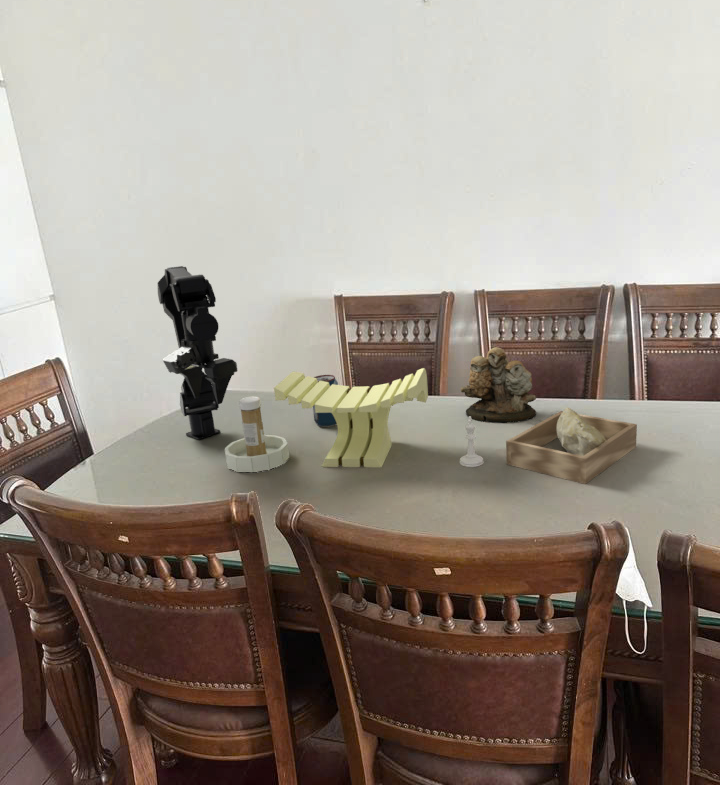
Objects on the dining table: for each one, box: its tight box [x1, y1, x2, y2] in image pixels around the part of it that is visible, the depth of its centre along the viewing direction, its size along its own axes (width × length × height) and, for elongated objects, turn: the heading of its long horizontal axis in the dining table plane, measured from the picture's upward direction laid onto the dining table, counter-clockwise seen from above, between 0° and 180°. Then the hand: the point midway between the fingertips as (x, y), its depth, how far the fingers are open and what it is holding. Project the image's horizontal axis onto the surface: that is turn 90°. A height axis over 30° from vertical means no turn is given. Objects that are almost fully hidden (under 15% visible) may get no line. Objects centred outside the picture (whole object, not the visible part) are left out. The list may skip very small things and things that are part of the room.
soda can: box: [312, 374, 339, 428], centre depth 169 cm, size 7×7×12 cm
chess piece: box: [459, 416, 485, 468], centre depth 137 cm, size 5×5×10 cm
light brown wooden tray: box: [505, 410, 638, 485], centre depth 137 cm, size 17×22×5 cm
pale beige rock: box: [557, 407, 606, 456], centre depth 137 cm, size 15×7×15 cm
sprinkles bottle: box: [238, 396, 267, 456], centre depth 148 cm, size 5×5×13 cm
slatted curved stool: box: [273, 367, 429, 468], centre depth 147 cm, size 30×16×18 cm, turn 78°
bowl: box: [224, 434, 290, 473], centre depth 149 cm, size 14×14×4 cm
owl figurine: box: [460, 346, 537, 424], centre depth 163 cm, size 18×12×17 cm, turn 75°
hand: (208, 400), depth 152 cm, fingers open, 9 cm apart
